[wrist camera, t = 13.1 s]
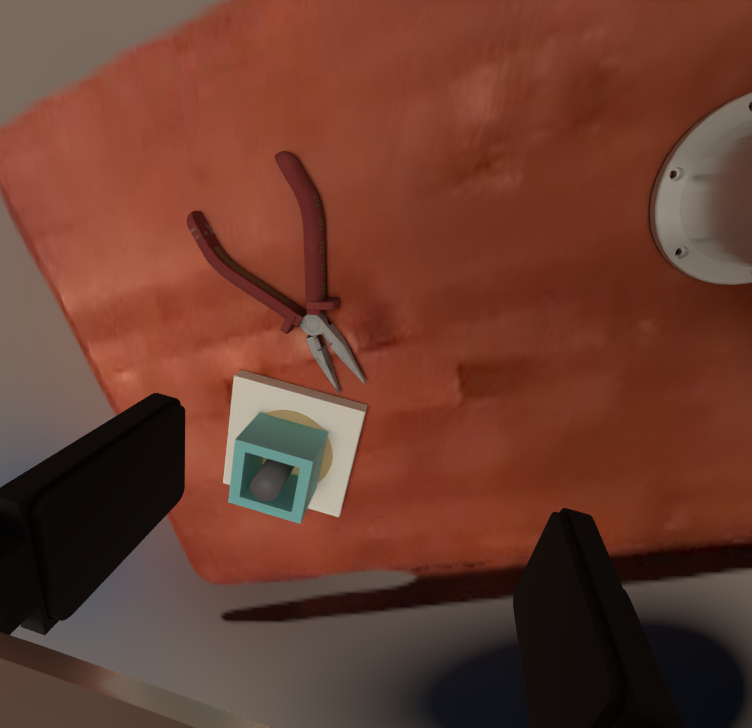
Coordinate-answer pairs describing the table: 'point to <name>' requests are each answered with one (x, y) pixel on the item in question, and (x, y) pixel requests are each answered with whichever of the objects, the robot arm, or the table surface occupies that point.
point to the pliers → (315, 278)
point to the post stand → (307, 410)
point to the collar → (283, 446)
